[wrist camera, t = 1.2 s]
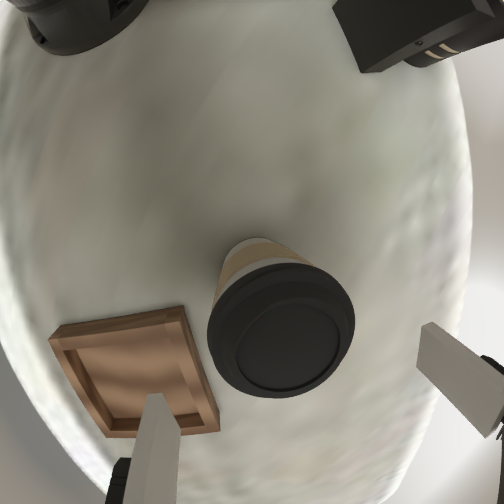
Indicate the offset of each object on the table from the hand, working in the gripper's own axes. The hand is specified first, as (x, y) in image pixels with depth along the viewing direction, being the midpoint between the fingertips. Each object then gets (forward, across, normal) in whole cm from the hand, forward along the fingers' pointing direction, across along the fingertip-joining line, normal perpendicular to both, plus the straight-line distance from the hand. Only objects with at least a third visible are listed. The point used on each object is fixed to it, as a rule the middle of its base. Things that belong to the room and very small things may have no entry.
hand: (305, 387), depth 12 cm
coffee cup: (+18, 0, 0) cm, 18 cm away
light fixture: (+17, +21, +25) cm, 37 cm away
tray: (+17, -16, -10) cm, 25 cm away
